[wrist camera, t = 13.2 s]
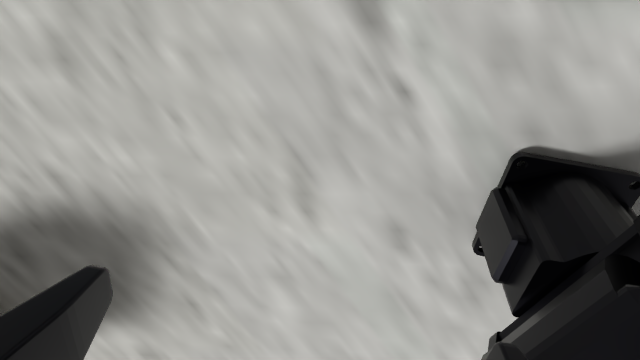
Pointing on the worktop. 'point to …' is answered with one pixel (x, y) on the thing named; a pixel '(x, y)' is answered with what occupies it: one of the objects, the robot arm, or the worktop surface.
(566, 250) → the robot arm
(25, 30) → the worktop surface
